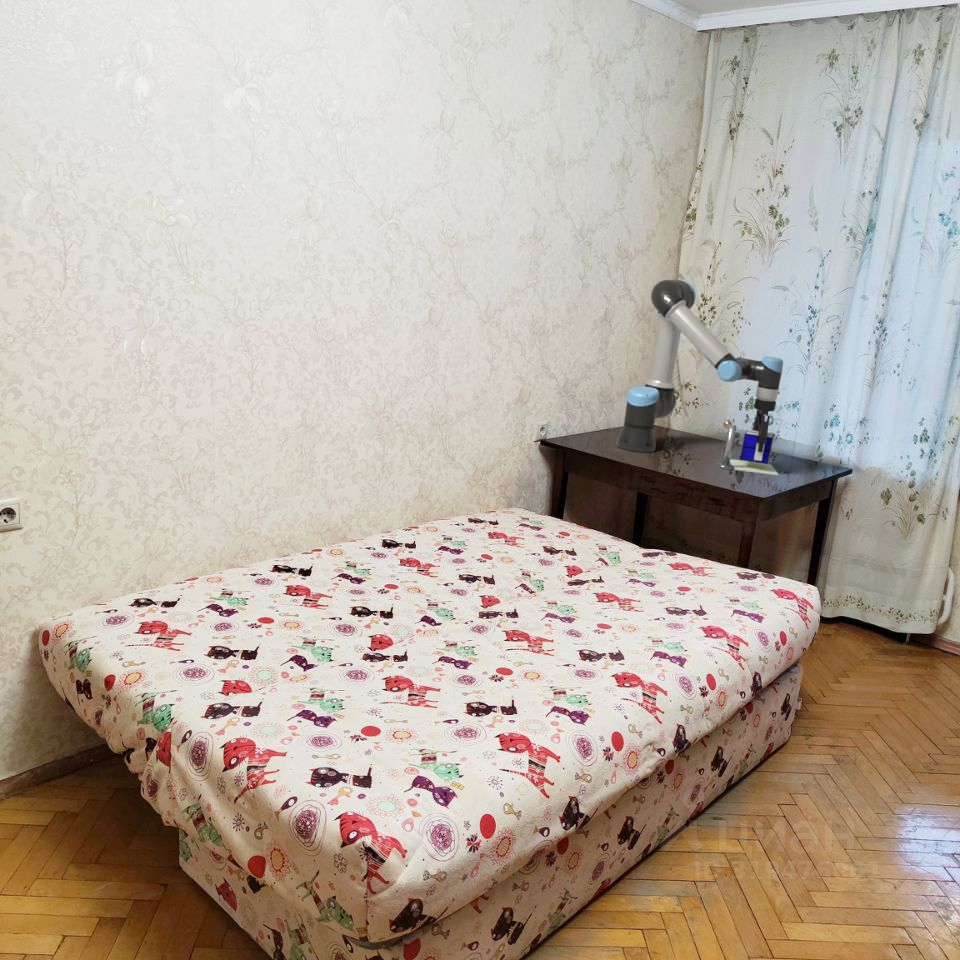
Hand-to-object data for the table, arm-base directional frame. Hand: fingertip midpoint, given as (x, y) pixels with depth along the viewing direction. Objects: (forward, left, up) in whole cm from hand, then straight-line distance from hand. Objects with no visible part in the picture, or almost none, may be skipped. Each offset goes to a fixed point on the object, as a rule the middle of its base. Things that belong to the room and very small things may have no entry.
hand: (755, 456), depth 335 cm
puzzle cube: (0, 0, -1) cm, 1 cm away
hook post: (-11, 0, -4) cm, 12 cm away
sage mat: (0, 0, -4) cm, 4 cm away
